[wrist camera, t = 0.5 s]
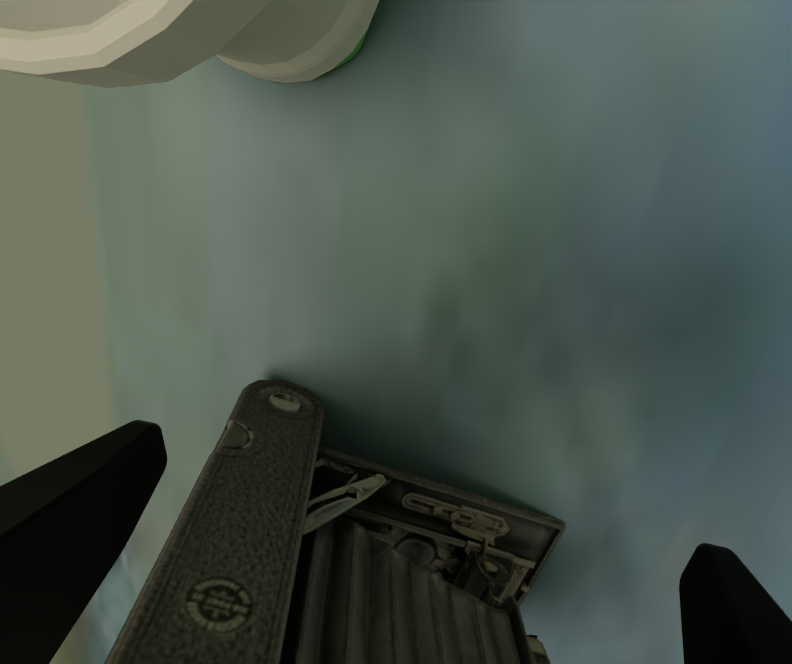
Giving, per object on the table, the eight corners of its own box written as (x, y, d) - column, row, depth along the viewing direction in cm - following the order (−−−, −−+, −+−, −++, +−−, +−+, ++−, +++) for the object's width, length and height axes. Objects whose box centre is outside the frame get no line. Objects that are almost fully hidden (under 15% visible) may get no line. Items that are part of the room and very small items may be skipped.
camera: (472, 598, 33) (615, 1240, 14) (185, 515, 30) (-125, 1189, 11) (561, 446, 29) (908, 1019, 11) (249, 334, 26) (-39, 858, 8)
